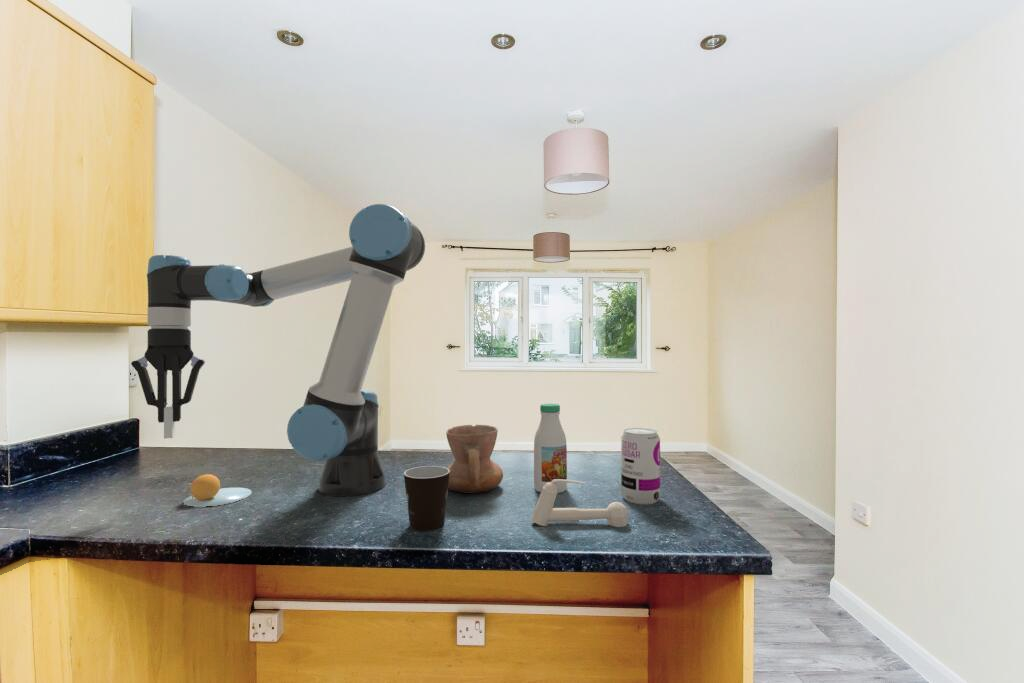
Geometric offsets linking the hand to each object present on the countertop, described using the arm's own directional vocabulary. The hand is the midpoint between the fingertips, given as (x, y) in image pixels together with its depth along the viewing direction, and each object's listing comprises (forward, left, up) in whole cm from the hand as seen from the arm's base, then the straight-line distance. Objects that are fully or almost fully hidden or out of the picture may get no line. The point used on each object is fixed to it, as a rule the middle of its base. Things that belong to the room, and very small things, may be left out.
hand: (169, 437), depth 100 cm
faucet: (-72, +50, -15) cm, 89 cm away
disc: (-9, 0, -14) cm, 17 cm away
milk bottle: (-78, +30, -15) cm, 85 cm away
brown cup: (-47, +36, -15) cm, 61 cm away
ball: (-7, 0, -12) cm, 13 cm away
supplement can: (-92, +45, -15) cm, 103 cm away
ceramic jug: (-62, +21, -15) cm, 67 cm away
